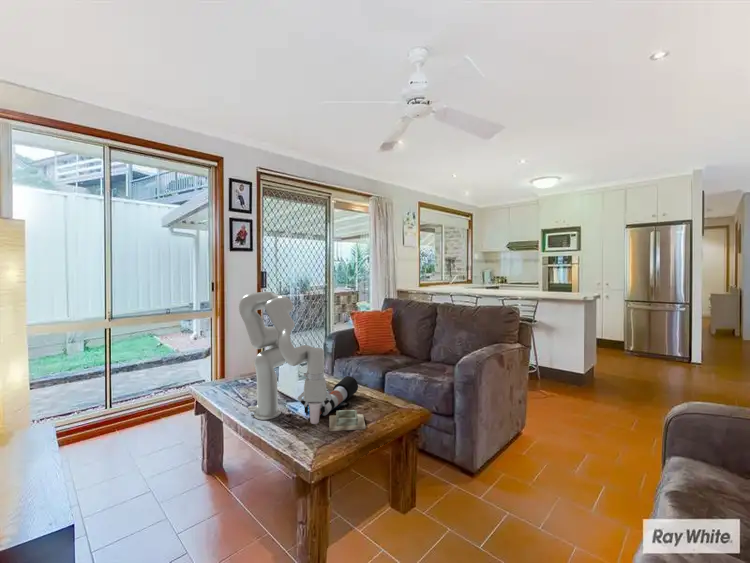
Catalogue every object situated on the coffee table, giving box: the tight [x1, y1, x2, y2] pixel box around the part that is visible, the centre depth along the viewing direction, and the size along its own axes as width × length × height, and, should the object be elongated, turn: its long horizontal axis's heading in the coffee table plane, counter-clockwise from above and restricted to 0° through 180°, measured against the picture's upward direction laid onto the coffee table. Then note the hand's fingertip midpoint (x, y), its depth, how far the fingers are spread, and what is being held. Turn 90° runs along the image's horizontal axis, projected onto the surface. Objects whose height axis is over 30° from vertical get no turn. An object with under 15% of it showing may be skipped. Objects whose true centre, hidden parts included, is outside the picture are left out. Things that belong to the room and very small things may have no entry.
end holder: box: [328, 409, 366, 432], centre depth 164 cm, size 16×13×4 cm
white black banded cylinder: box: [320, 376, 359, 416], centre depth 183 cm, size 10×34×10 cm, turn 156°
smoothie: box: [308, 402, 322, 425], centre depth 162 cm, size 6×6×14 cm
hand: (314, 413), depth 163 cm, fingers closed on smoothie, 6 cm apart
